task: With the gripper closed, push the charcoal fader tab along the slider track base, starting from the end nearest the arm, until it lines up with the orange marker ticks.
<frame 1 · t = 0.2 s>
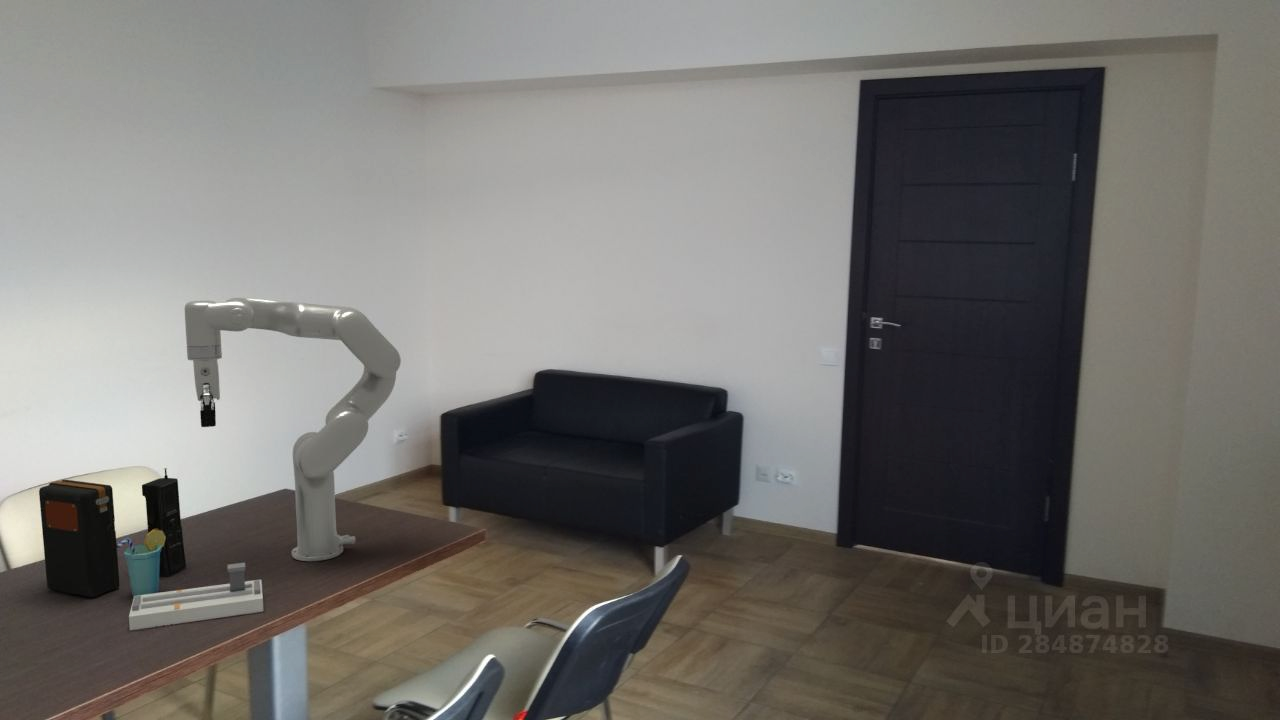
hand: (208, 422, 230), 36 cm above the table, tool pointing down, fingers open, 9 cm apart
fader tab: (237, 578, 211), point 6 cm above the table, slide at -8.0 cm
black speaker: (83, 590, 220), on the table
cup: (143, 596, 217), on the table
portable radio: (166, 572, 231), on the table
slider track base: (199, 610, 209), on the table
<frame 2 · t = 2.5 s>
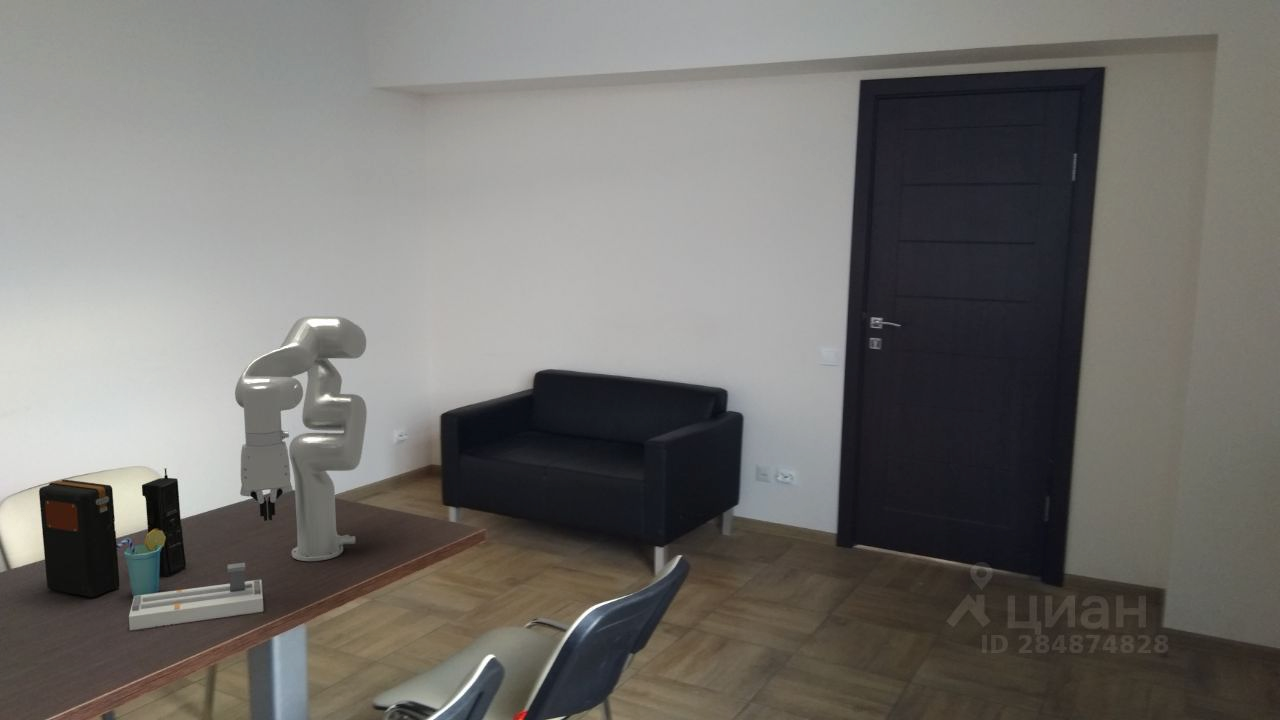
hand: (267, 518, 212), 19 cm above the table, tool pointing down, fingers closed
nothing on the table moved.
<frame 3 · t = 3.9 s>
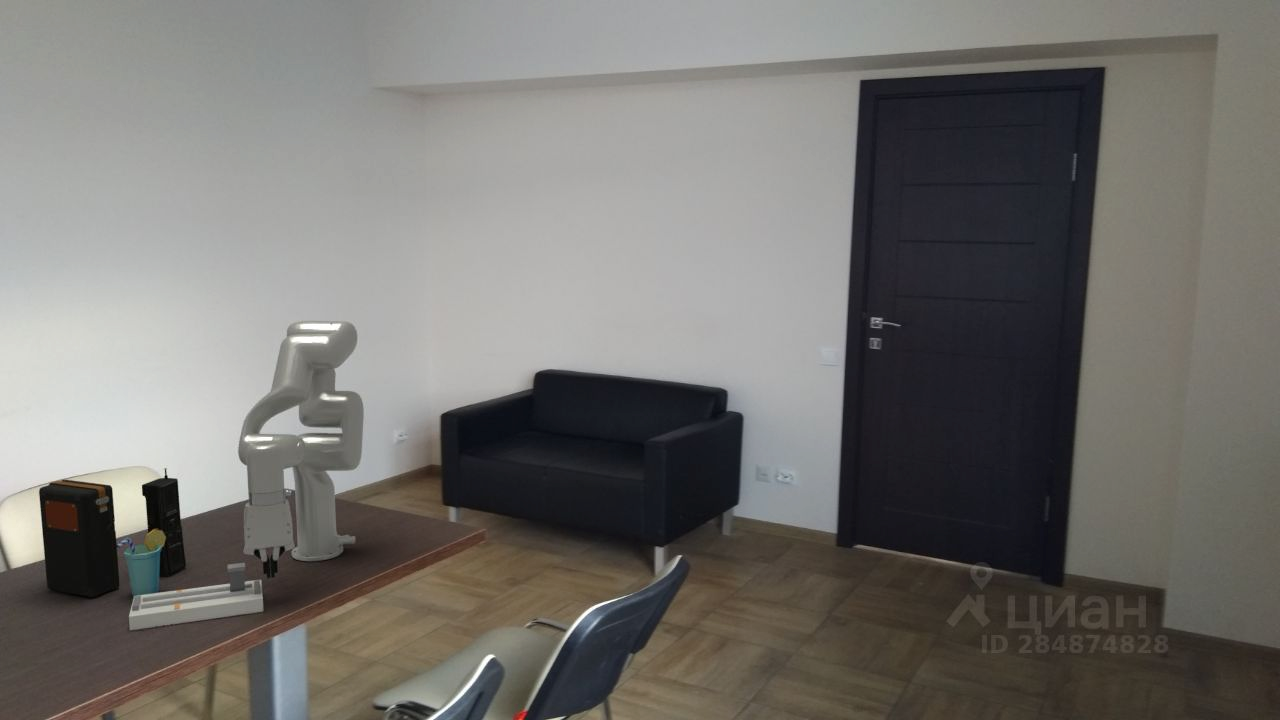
hand: (270, 576, 214), 6 cm above the table, tool pointing down, fingers closed
nothing on the table moved.
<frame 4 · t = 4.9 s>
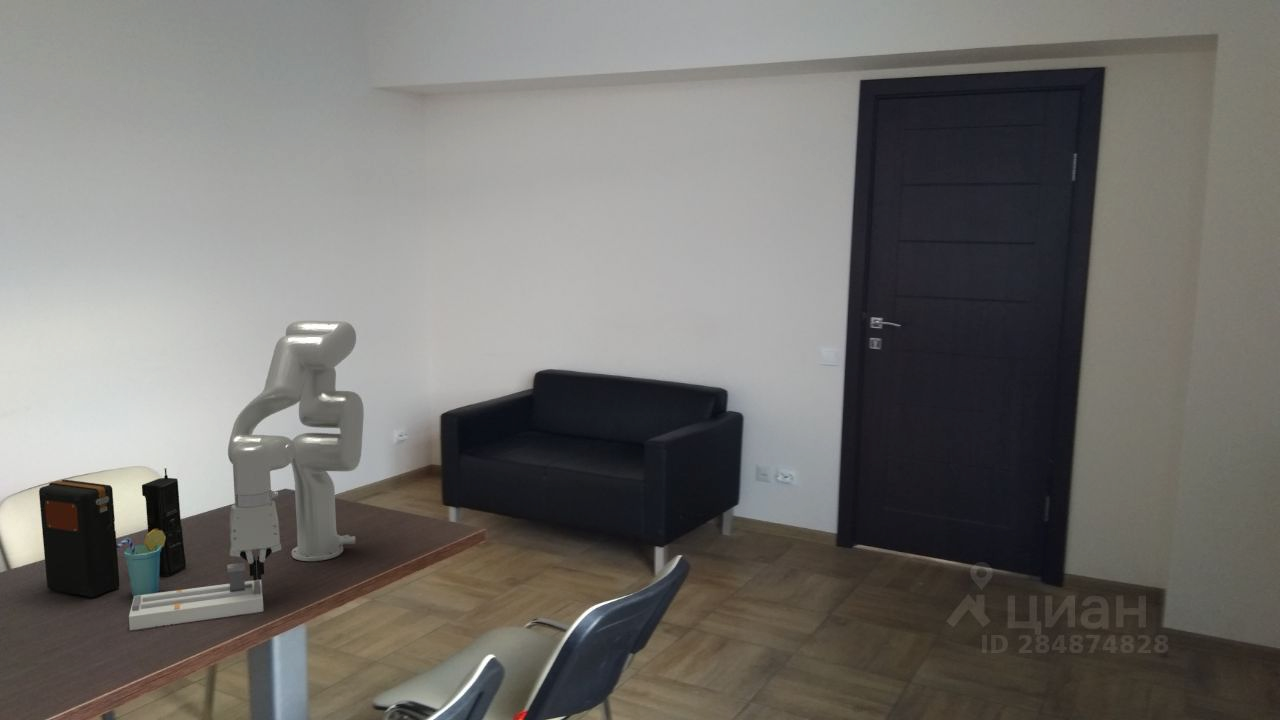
hand: (257, 577, 213), 6 cm above the table, tool pointing down, fingers closed
fader tab: (236, 578, 211), point 6 cm above the table, slide at -8.0 cm, touching gripper
everything else where it was.
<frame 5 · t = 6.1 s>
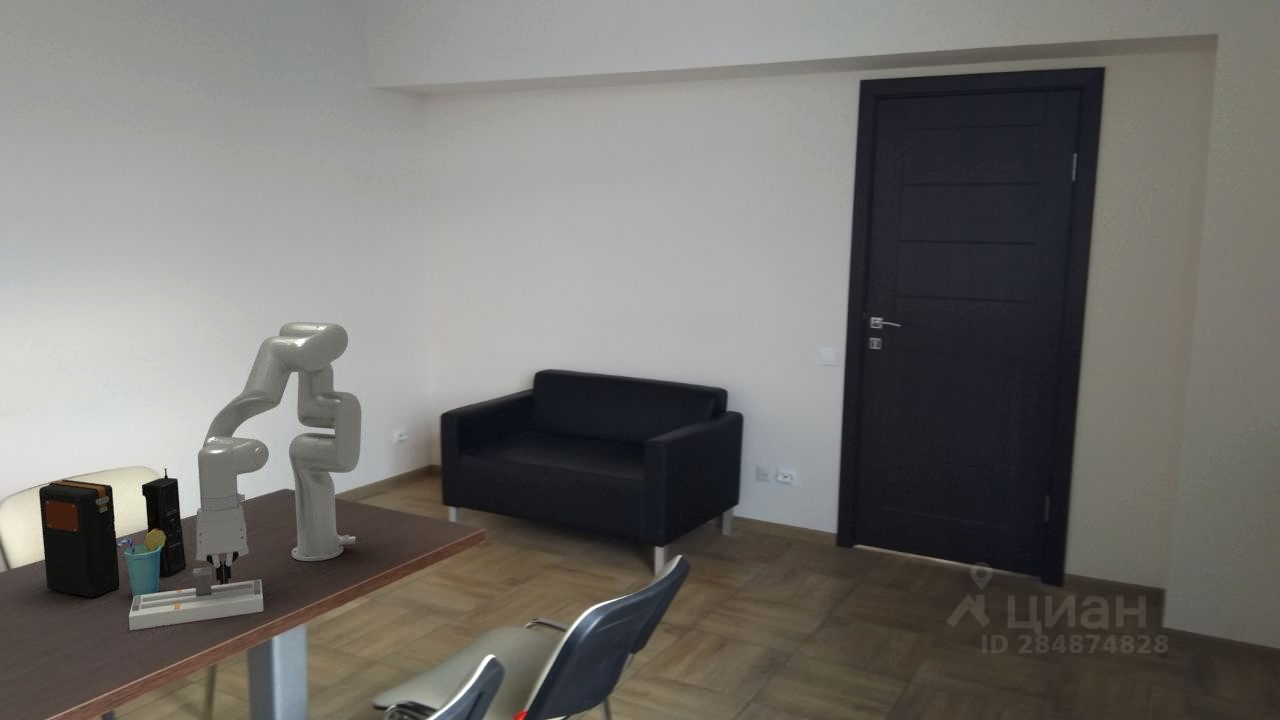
hand: (224, 582, 210), 6 cm above the table, tool pointing down, fingers closed
fader tab: (203, 582, 208), point 6 cm above the table, slide at -1.1 cm, touching gripper
everything else where it was.
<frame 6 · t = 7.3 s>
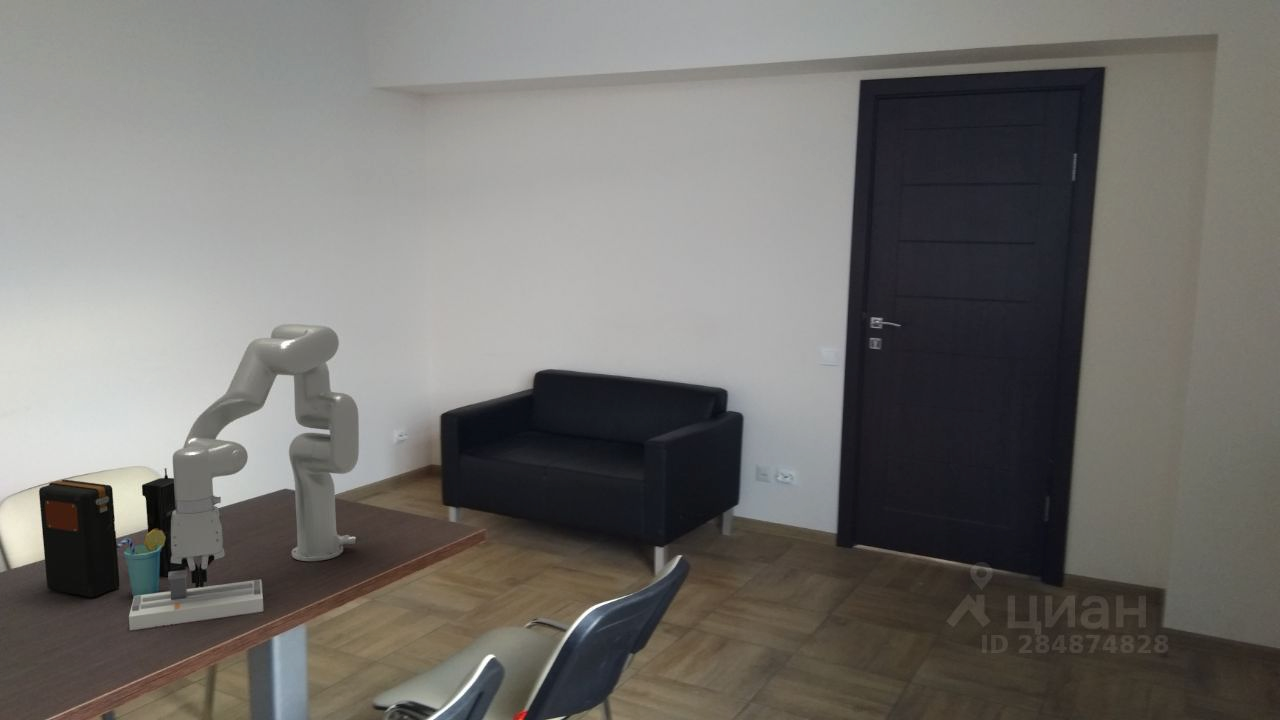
hand: (199, 585, 208), 6 cm above the table, tool pointing down, fingers closed
fader tab: (178, 585, 207), point 6 cm above the table, slide at 3.8 cm, touching gripper
everything else where it was.
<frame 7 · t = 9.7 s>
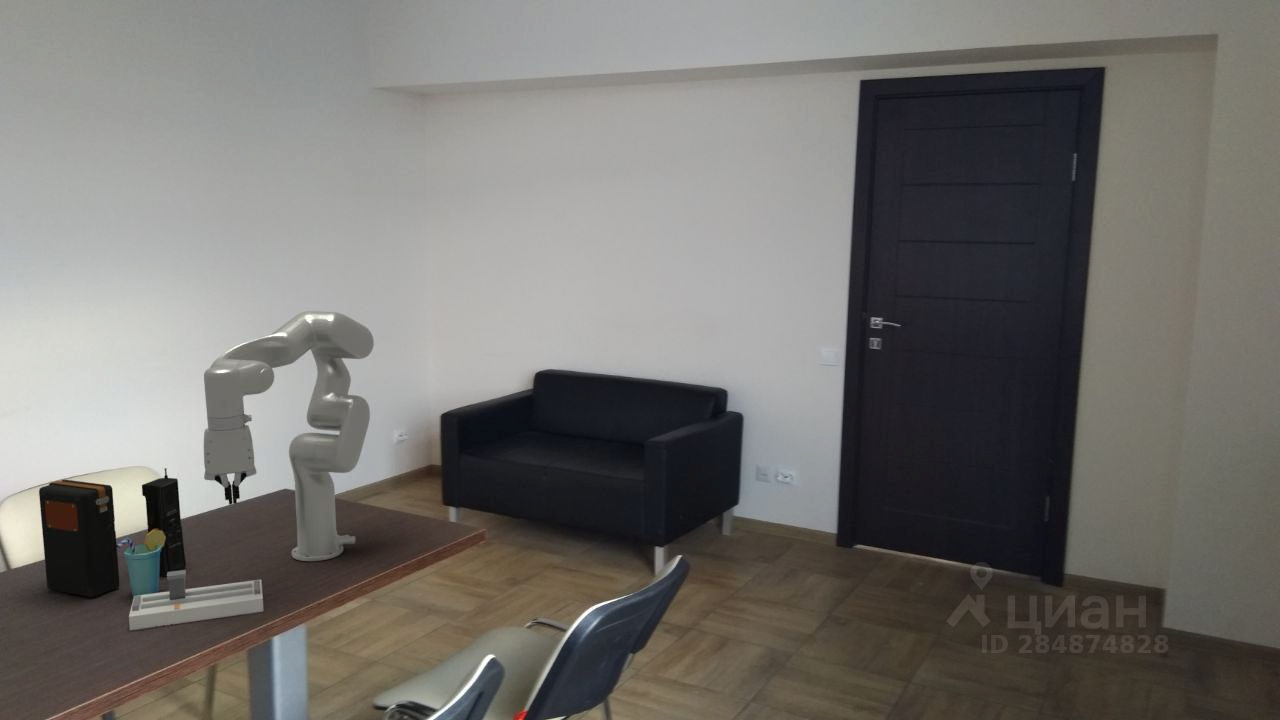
hand: (232, 502, 212), 23 cm above the table, tool pointing down, fingers closed
fader tab: (177, 585, 206), point 6 cm above the table, slide at 4.0 cm
everything else where it was.
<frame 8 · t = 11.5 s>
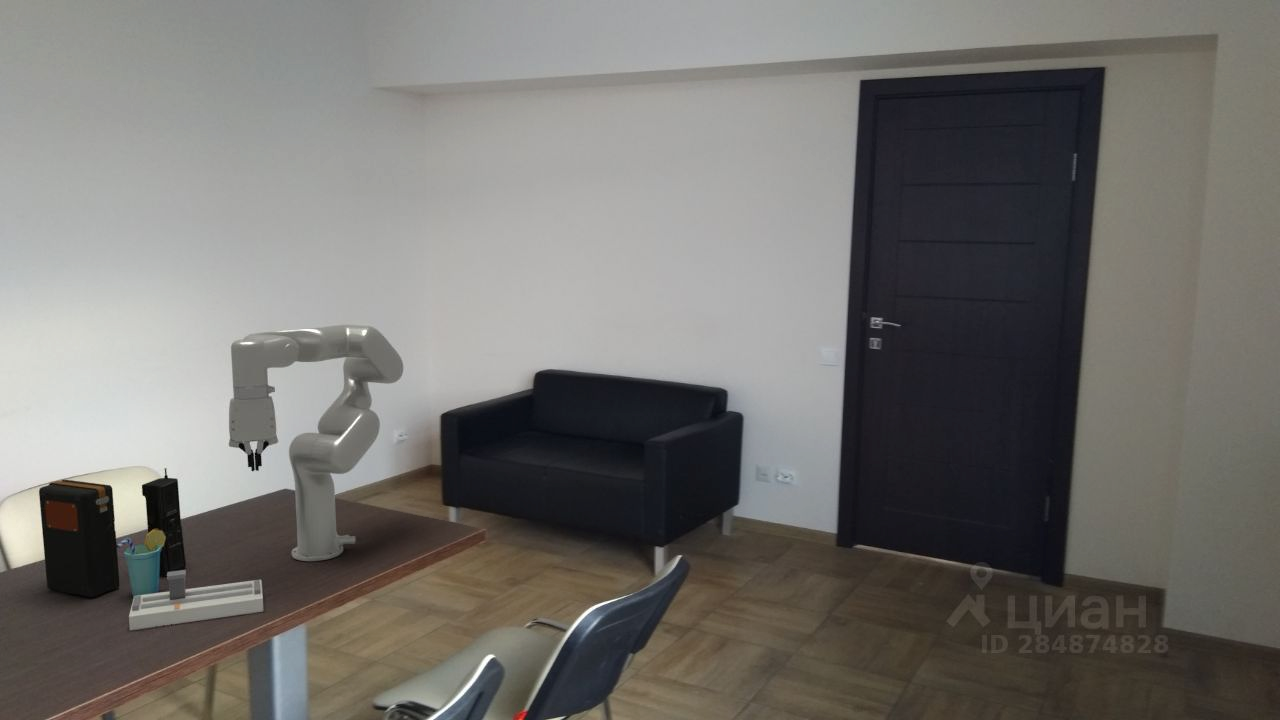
hand: (255, 469, 223), 27 cm above the table, tool pointing down, fingers closed
nothing on the table moved.
at the end: fader tab slide at 4.0 cm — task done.
